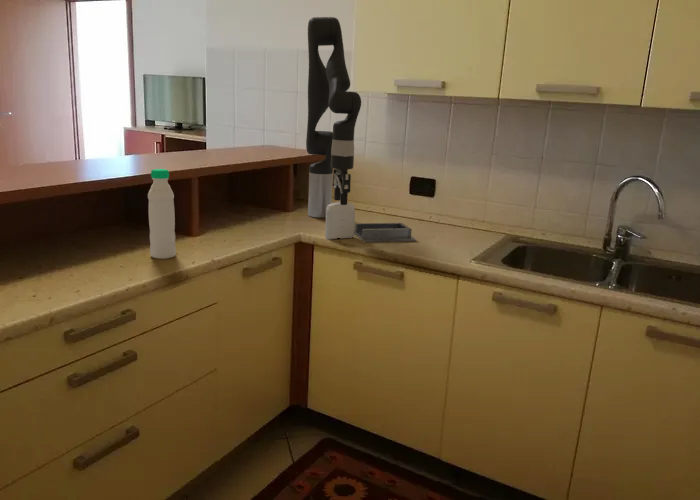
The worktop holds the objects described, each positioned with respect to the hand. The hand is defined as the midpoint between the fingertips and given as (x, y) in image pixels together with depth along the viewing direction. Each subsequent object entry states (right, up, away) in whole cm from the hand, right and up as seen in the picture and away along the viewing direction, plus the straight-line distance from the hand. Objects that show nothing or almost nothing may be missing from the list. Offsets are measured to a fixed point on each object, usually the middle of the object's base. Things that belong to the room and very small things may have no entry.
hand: (340, 202), depth 196 cm
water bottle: (-51, -18, -28) cm, 60 cm away
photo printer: (0, -12, +3) cm, 13 cm away
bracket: (+15, -11, +8) cm, 20 cm away
